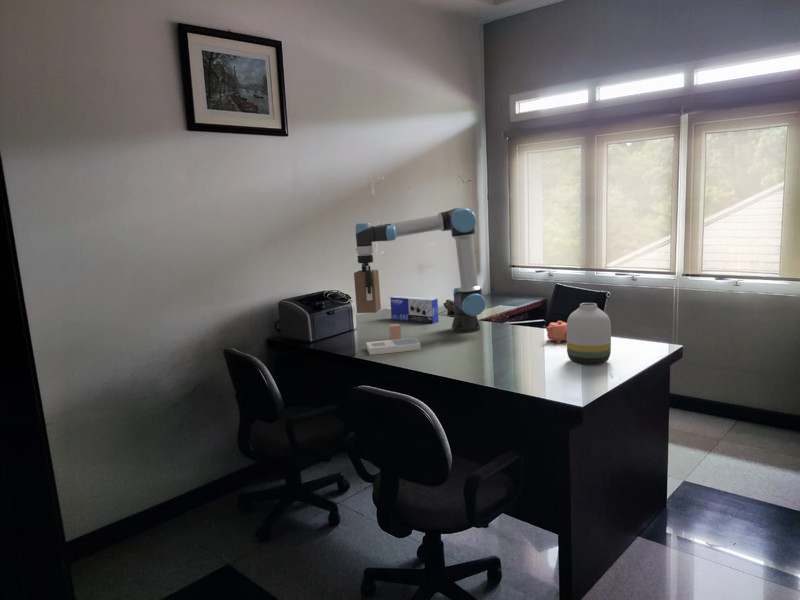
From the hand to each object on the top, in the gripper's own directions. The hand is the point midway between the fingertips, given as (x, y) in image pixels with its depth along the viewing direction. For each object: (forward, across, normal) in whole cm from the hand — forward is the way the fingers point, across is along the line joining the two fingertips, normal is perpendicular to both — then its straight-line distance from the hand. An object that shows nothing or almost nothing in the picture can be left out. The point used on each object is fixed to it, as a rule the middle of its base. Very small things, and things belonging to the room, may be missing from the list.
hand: (368, 298), depth 276 cm
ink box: (+24, -46, +32) cm, 61 cm away
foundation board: (+23, +15, +9) cm, 29 cm away
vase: (+24, +68, +81) cm, 108 cm away
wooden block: (+7, 0, 0) cm, 7 cm away
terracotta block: (+23, -2, +13) cm, 27 cm away
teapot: (+24, +32, +86) cm, 94 cm away
